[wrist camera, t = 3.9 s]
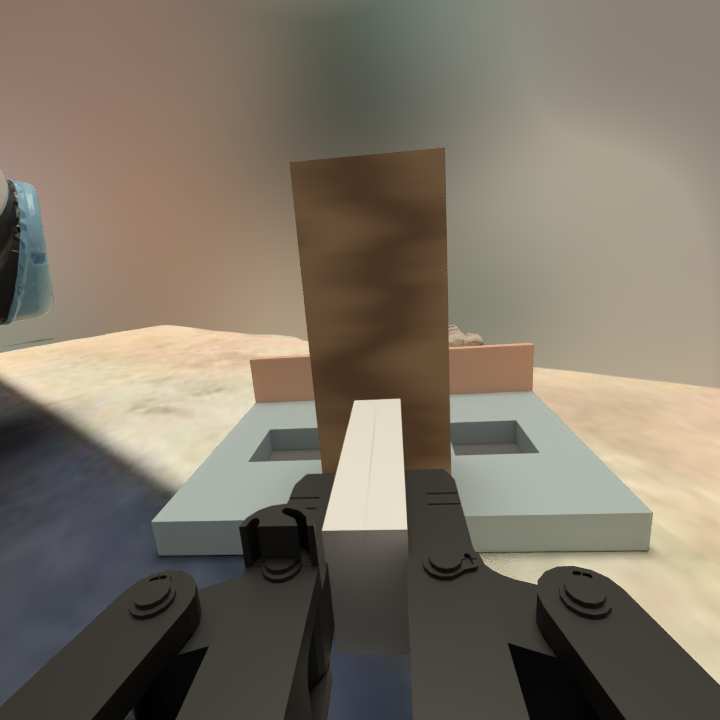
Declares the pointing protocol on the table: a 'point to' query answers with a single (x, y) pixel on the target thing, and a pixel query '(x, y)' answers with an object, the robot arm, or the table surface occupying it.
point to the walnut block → (377, 295)
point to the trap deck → (468, 464)
